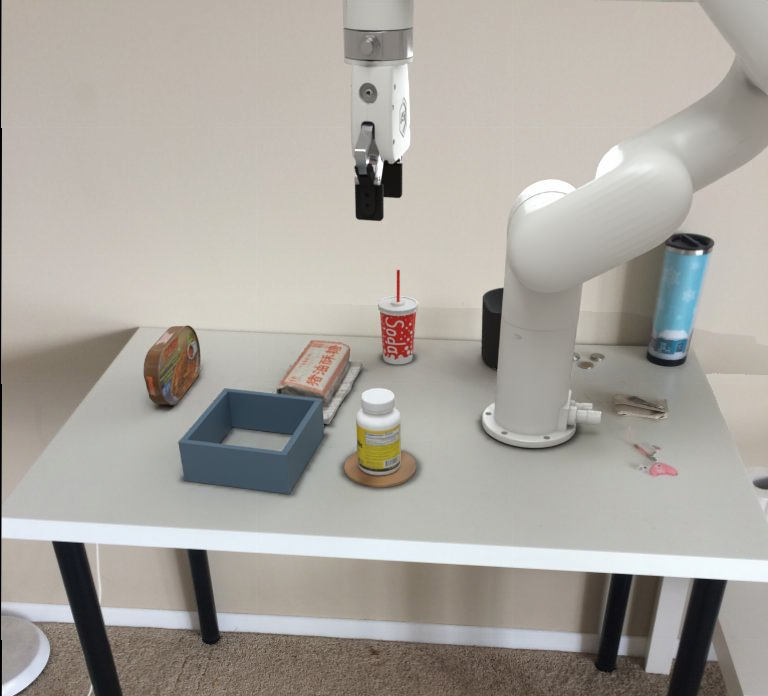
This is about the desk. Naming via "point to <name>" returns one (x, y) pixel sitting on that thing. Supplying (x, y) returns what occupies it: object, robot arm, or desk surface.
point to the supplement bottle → (378, 433)
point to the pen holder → (491, 326)
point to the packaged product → (321, 375)
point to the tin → (172, 365)
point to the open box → (250, 464)
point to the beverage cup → (398, 326)
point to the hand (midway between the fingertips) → (379, 207)
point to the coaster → (380, 481)
